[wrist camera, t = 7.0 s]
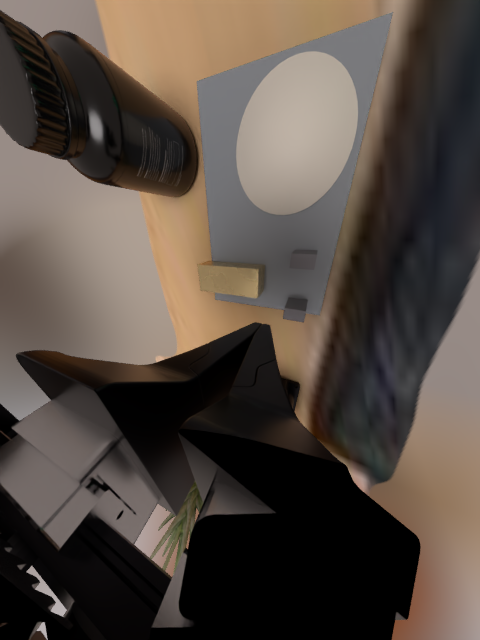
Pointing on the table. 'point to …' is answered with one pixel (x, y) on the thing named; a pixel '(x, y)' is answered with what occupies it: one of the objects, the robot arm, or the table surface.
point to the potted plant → (180, 525)
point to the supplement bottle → (90, 113)
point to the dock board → (287, 159)
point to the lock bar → (232, 278)
